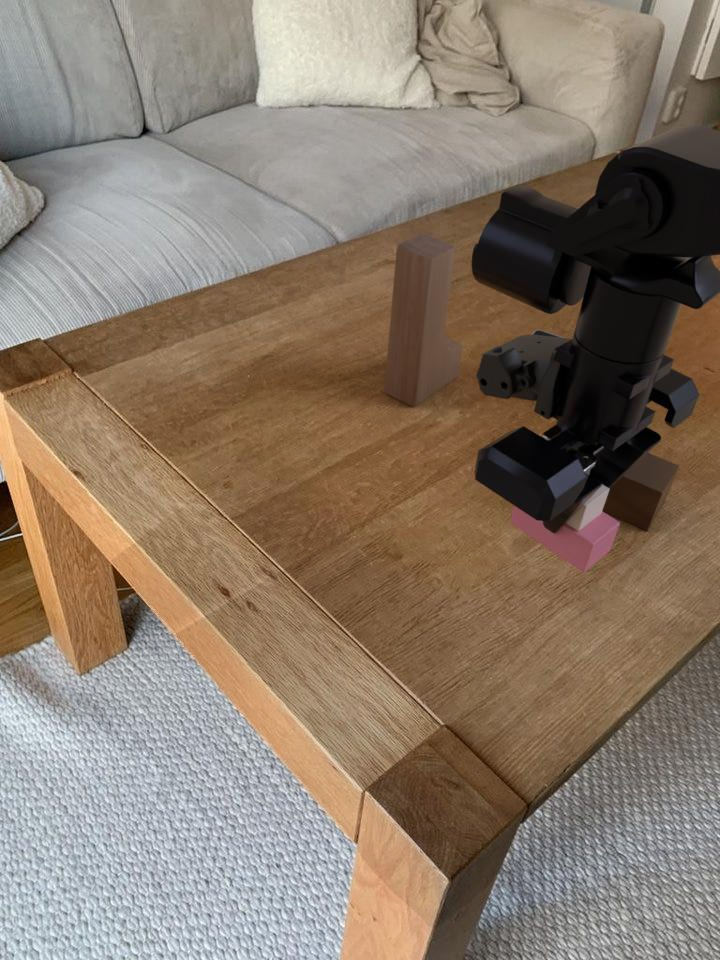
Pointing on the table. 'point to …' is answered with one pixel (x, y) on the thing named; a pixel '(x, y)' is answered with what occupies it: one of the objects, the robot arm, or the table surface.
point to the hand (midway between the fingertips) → (565, 517)
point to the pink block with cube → (575, 532)
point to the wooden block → (421, 321)
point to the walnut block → (641, 491)
